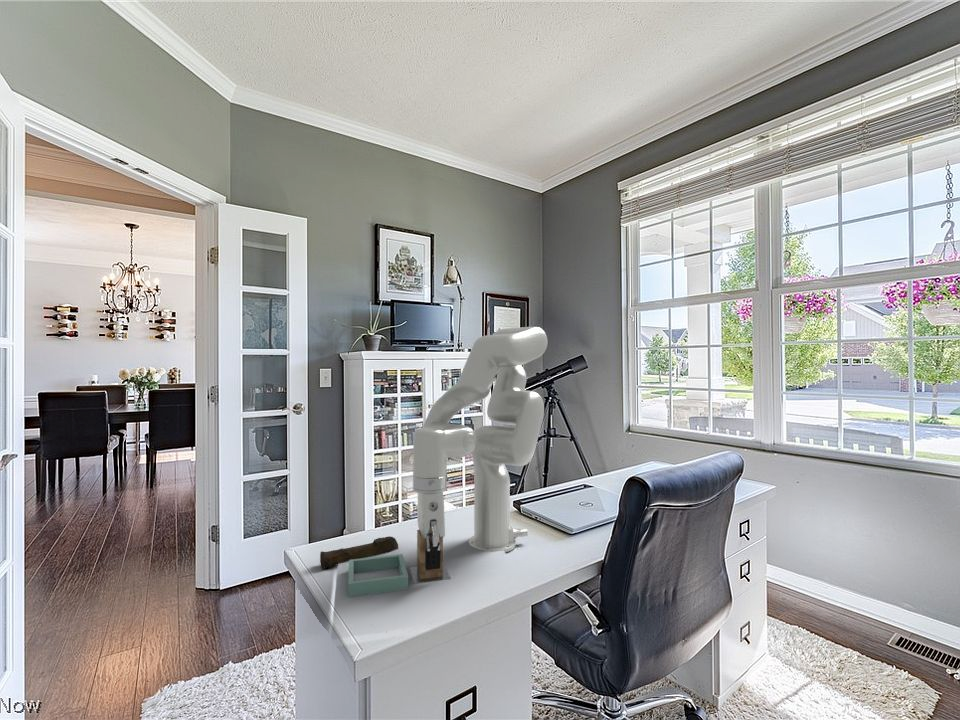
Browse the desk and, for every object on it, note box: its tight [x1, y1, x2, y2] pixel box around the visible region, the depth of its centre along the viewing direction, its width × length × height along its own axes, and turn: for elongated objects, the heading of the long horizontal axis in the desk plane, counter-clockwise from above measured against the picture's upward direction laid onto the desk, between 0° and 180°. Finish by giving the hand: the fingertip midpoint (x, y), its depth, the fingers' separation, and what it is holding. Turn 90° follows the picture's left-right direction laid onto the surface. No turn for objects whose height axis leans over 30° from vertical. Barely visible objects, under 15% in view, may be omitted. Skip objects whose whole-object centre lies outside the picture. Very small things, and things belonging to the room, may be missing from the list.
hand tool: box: [319, 536, 399, 570], centre depth 110 cm, size 19×4×5 cm, turn 116°
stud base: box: [409, 563, 451, 585], centre depth 101 cm, size 8×8×4 cm
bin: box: [347, 553, 409, 598], centre depth 98 cm, size 12×12×4 cm
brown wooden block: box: [416, 529, 444, 579], centre depth 101 cm, size 5×5×9 cm
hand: (429, 559), depth 101 cm, fingers open, 9 cm apart
